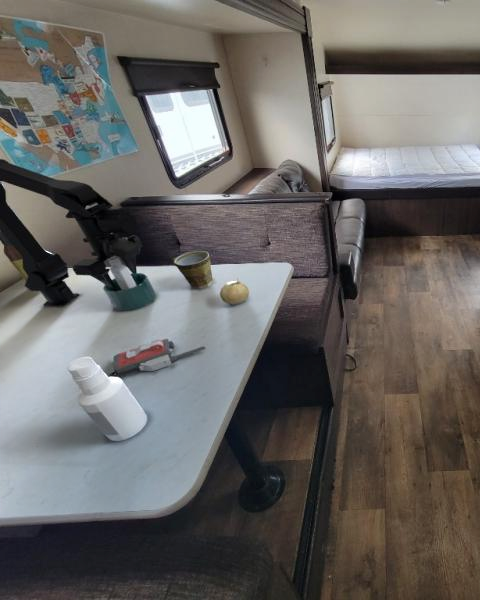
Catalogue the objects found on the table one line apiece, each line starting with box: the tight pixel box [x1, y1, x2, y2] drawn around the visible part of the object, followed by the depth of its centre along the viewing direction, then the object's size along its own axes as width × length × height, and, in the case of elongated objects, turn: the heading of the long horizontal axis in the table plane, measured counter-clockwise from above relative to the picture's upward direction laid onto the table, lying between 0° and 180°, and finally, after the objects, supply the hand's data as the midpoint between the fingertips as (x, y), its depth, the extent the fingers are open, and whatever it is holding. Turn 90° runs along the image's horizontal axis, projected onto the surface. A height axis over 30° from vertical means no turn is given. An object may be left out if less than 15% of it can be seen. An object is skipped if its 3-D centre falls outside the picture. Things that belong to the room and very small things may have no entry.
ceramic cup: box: [171, 250, 214, 290], centre depth 111 cm, size 13×10×10 cm
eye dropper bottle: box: [107, 256, 137, 290], centre depth 100 cm, size 4×6×12 cm
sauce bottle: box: [0, 231, 28, 282], centre depth 109 cm, size 7×6×20 cm
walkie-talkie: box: [108, 338, 206, 378], centre depth 83 cm, size 9×4×20 cm
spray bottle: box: [66, 356, 148, 442], centre depth 63 cm, size 7×7×18 cm
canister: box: [102, 272, 157, 312], centre depth 104 cm, size 11×11×7 cm
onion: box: [219, 277, 250, 306], centre depth 103 cm, size 8×8×7 cm
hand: (124, 280), depth 101 cm, fingers closed on eye dropper bottle, 8 cm apart
